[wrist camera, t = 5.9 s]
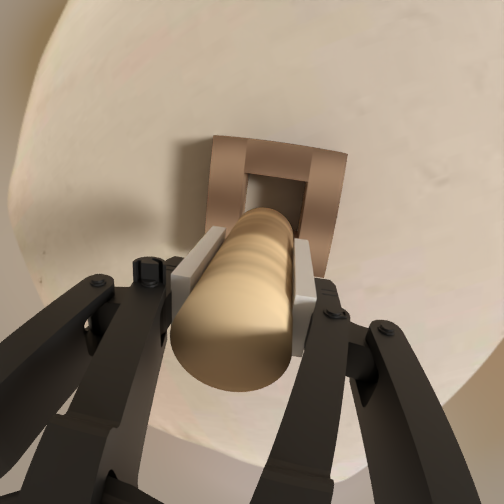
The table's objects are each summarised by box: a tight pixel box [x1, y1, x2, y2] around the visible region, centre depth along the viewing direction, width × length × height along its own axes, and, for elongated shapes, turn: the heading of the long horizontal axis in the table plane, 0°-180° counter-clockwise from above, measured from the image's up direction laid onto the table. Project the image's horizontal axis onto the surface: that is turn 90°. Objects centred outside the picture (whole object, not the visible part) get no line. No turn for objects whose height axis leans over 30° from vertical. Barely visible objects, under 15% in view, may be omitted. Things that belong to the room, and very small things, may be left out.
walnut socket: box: [205, 135, 348, 278], centre depth 30 cm, size 12×12×4 cm
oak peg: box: [170, 208, 293, 392], centre depth 15 cm, size 4×4×12 cm
